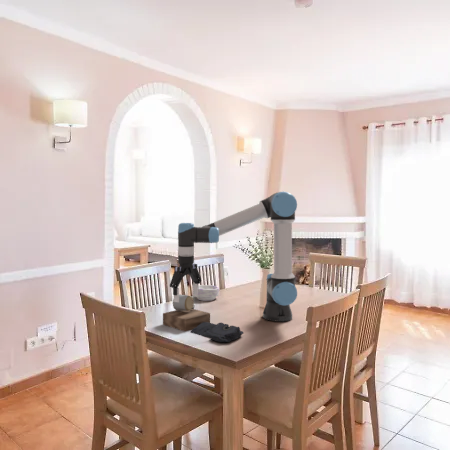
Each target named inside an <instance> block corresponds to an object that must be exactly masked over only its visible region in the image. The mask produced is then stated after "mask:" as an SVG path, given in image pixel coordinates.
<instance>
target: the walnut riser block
mask: <svg viewBox="0 0 450 450" xmlns="http://www.w3.org/2000/svg"><path fill="white" fill-rule="evenodd" d="M203 322H209V323H211V313H210V312H207V311H204V310H198V309H196V308H194V309H191V310H189V311H181V310H175V309H174V310H171V311H167V312H163V313H162V325H164V326H166V327H169V328H173V329H175V330H178V331H182V332H184V333H185V332H190V331H192V329H194V328H195V327H197V326H198V325H200V324H201V323H203Z"/></svg>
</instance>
